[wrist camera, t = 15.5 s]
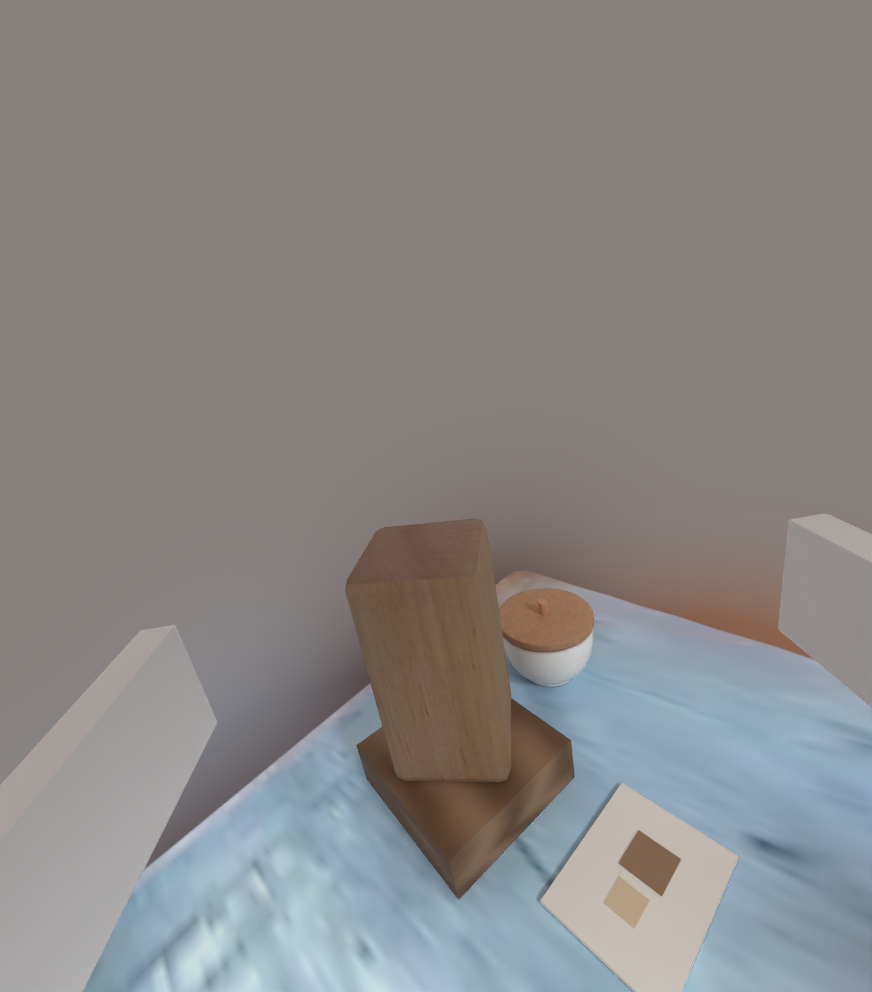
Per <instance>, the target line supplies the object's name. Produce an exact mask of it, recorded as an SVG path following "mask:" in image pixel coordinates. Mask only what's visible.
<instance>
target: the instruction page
mask: <svg viewBox="0 0 872 992" xmlns="http://www.w3.org/2000/svg"><path fill="white" fill-rule="evenodd" d="M738 859H739V856H738V855H736V854H735V853H733V852H731V851H730V850H728V849H727V848H725V847H723V846H722V845H720V844H719V843H717V842H716V841H714V840H712V839H711V838H709V837H708V836H706V835H704V834H703V833H701V832H700V831H698V830H696V829H695V828H693V827H692V826H690V825H688V824H687V823H685V822H684V821H682V820H680V819H679V818H677V817H676V816H674V815H672V814H671V813H669V812H668V811H666V810H664V809H663V808H661V807H660V806H658V805H657V804H655V803H653V802H652V801H650V800H649V799H647V798H645V797H644V796H642V795H641V794H639V793H637V792H636V791H634V790H633V789H631V788H629V787H628V786H626V785H625V784H623V783H621V785H620V786H619V788H618V789H617V790H616V792H615V793H614V795H613V796H612V798H611V799H610V801H609V802H608V803H607V805H606V806H605V808H604V809H603V811H602V812H601V814H600V815H599V816H598V818H597V819H596V821H595V822H594V824H593V825H592V827H591V828H590V829H589V831H588V832H587V834H586V835H585V837H584V838H583V840H582V841H581V842H580V844H579V845H578V847H577V848H576V850H575V851H574V853H573V854H572V855H571V857H570V858H569V860H568V861H567V863H566V864H565V866H564V867H563V868H562V870H561V871H560V873H559V874H558V876H557V877H556V879H555V880H554V881H553V883H552V884H551V886H550V887H549V889H548V890H547V892H546V893H545V894H544V896H543V897H542V899H541V900H540V903H541V904H542V905H543V906H544V907H545V908H546V909H547V910H548V911H549V912H550V913H551V914H552V915H553V916H554V917H555V918H556V919H557V920H558V921H559V922H561V923H562V924H563V925H564V926H565V927H566V928H567V929H568V930H569V931H570V932H571V933H572V934H573V935H574V936H575V937H576V938H577V939H578V940H579V941H580V942H582V943H583V944H584V945H585V946H586V947H587V948H588V949H589V950H590V951H591V952H592V953H593V954H594V955H595V956H596V957H597V958H598V959H599V960H600V961H602V962H603V963H604V964H605V965H606V966H607V967H608V968H609V969H610V970H611V971H612V972H613V973H614V974H615V975H616V976H617V977H618V978H619V979H620V980H621V981H623V982H624V983H625V984H626V985H627V986H628V987H629V988H630V989H631V990H632V991H633V992H682V990H683V988H684V986H685V983H686V981H687V979H688V976H689V974H690V972H691V969H692V967H693V965H694V962H695V960H696V958H697V955H698V953H699V951H700V948H701V946H702V944H703V941H704V939H705V937H706V934H707V932H708V930H709V927H710V925H711V923H712V920H713V918H714V916H715V913H716V911H717V908H718V906H719V904H720V901H721V899H722V897H723V894H724V892H725V890H726V887H727V885H728V883H729V880H730V878H731V876H732V873H733V871H734V869H735V866H736V864H737V862H738Z"/></svg>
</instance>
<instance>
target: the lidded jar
mask: <svg viewBox="0 0 872 992" xmlns="http://www.w3.org/2000/svg"><path fill="white" fill-rule="evenodd" d="M499 615H500V622H501V629H502V636H503V643H504V650H505V653H506V656H507V658H508V660H509V661H510V663H511V664H512V666H513V667H514V668H515V669H516V670H517V671H518V672H519V673H520V674H521V675H523V676H524V677H525V678H527V679H529V680H530V681H532V682H533V683H535V684H537V685H540V686H545V687H557V686H561V685H564V684H566V683H568V682H569V681H571V680H572V679H573V678H574V677H576V676H577V675H578V674H580V672H581V671H582V670H583V669H584V668H585V666H586V665H587V663H588V661H589V659H590V656H591V652H592V648H593V637H594V632H593V627H594V615H593V611H592V609H591V607H590V606H589V604H588V603H587V602H586V601H585V600H584V599H582V598H581V597H579V596H577V595H575V594H573V593H571V592H568V591H564V590H559V589H548V588H544V589H533V590H528V591H525V592H521V593H519V594H517V595H514V596H513V597H511V598H509V599H508V600H507V601H506V602H505V603H504V604H503V605H502V606H501V607H500V609H499Z"/></svg>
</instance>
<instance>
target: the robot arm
mask: <svg viewBox="0 0 872 992" xmlns="http://www.w3.org/2000/svg"><path fill="white" fill-rule="evenodd" d="M778 624H779V625H778V630H780V631H781V632H782V633H783V634H784V635H786V636H787V637H788V638H789V639H791V640H792V641H793V642H794V643H795V644H796V645H798V646H799V647H800V648H801V649H802V650H804V651H805V652H806V653H807V654H808V655H810V656H811V657H812V658H813V659H814V660H816V661H817V662H818V663H819V664H820V665H822V666H823V667H824V668H825V669H826V670H828V671H829V672H830V673H831V674H832V675H834V676H835V677H836V678H837V679H838V680H840V681H841V682H842V683H843V684H844V685H846V686H847V687H848V688H849V689H850V690H852V691H853V692H854V693H855V694H856V695H857V696H859V697H860V698H861V699H862V700H863V701H865V702H866V703H867V704H868V705H869V706H871V707H872V534H870V533H868V532H865V531H863V530H861V529H859V528H857V527H854V526H852V525H850V524H848V523H846V522H843V521H841V520H839V519H837V518H835V517H833V516H830V515H828V514H826V513H825V514H819V515H814V516H807V517H802V518H796V519H790V520H789V523H788V534H787V543H786V554H785V563H784V573H783V583H782V594H781V604H780V614H779V623H778ZM216 724H217V720H216V718H215V716H214V713H213V711H212V709H211V706H210V704H209V702H208V699H207V697H206V695H205V692H204V690H203V688H202V686H201V683H200V681H199V679H198V676H197V674H196V672H195V670H194V667H193V665H192V662H191V660H190V658H189V655H188V653H187V651H186V648H185V646H184V644H183V642H182V639H181V637H180V635H179V632H178V630H177V628H176V625H170V626H164V627H158V628H152V629H146V630H141V631H139V632H138V634H137V635H136V636H135V637H134V638H133V639H132V640H131V641H130V642H129V644H128V645H127V646H126V647H125V648H124V649H123V650H122V651H121V652H120V653H119V655H118V656H117V657H116V658H115V659H114V660H113V661H112V662H111V663H110V664H109V666H108V667H107V668H106V669H105V670H104V671H103V672H102V674H100V676H99V677H98V678H97V679H96V680H95V681H94V682H93V683H92V684H91V686H90V687H89V688H88V689H87V690H86V691H85V692H84V693H83V694H82V695H81V696H80V698H79V699H78V700H77V701H76V702H75V703H74V704H73V705H72V707H71V708H70V709H69V710H68V711H67V712H66V713H65V714H64V715H63V716H62V717H61V719H60V720H59V721H58V722H57V723H56V724H55V725H54V726H53V727H52V729H51V730H50V731H49V732H48V733H47V734H46V735H45V736H44V737H43V738H42V740H41V741H40V742H39V743H38V744H37V745H36V746H35V747H34V749H33V750H32V751H31V752H30V753H29V754H28V755H27V756H26V757H25V758H24V759H23V761H22V762H21V763H20V764H19V765H18V766H17V767H16V768H15V769H14V770H13V772H12V773H11V774H10V775H9V776H8V777H7V778H6V779H5V780H4V782H3V783H2V784H1V785H0V992H83V990H84V988H85V986H86V984H87V982H88V980H89V978H90V976H91V974H92V972H93V970H94V968H95V966H96V964H97V962H98V960H99V958H100V956H101V954H102V952H103V950H104V948H105V946H106V944H107V942H108V940H109V938H110V936H111V934H112V932H113V930H114V928H115V926H116V924H117V922H118V920H119V918H120V916H121V914H122V912H123V910H124V908H125V906H126V904H127V902H128V900H129V898H130V896H131V894H132V892H133V890H134V888H135V886H136V884H137V882H138V880H139V878H140V876H141V874H142V872H143V870H144V868H145V866H146V864H147V862H148V860H149V858H150V856H151V854H152V852H153V850H154V848H155V846H156V844H157V842H158V840H159V838H160V836H161V834H162V832H163V830H164V828H165V826H166V824H167V822H168V820H169V818H170V816H171V814H172V812H173V810H174V808H175V806H176V804H177V802H178V800H179V798H180V796H181V794H182V792H183V790H184V788H185V786H186V784H187V782H188V780H189V778H190V776H191V774H192V772H193V770H194V768H195V766H196V764H197V762H198V760H199V758H200V756H201V754H202V752H203V750H204V748H205V746H206V744H207V742H208V740H209V738H210V736H211V734H212V732H213V730H214V728H215V726H216Z"/></svg>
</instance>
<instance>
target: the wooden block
mask: <svg viewBox="0 0 872 992" xmlns="http://www.w3.org/2000/svg"><path fill="white" fill-rule="evenodd" d="M346 595H347V599H348V602H349V606H350V609H351V613H352V617H353V620H354V624H355V628H356V631H357V635H358V639H359V642H360V646H361V649H362V653H363V656H364V660H365V664H366V667H367V671H368V675H369V679H370V682H371V686H372V690H373V693H374V697H375V700H376V704H377V708H378V711H379V715H380V719H381V722H382V726H383V730H384V733H385V737H386V740H387V744H388V748H389V751H390V755H391V759H392V762H393V766H394V770H395V773H396V775H397V777H398V778H400V779H402V780H405V781H447V782H502V781H505V780H507V778H508V775H509V773H510V770H511V691H510V684H509V677H508V670H507V664H506V657H505V650H504V643H503V636H502V629H501V622H500V615H499V608H498V602H497V595H496V588H495V581H494V574H493V567H492V560H491V554H490V547H489V540H488V533H487V528H486V526H485V525H484V523H483V522H482V520H478V519H467V520H456V521H446V522H435V523H425V524H415V525H404V526H394V527H384V528H382V529H380V530H378V531H376V532H375V534H374V536H373V538H372V539H371V541H370V542H369V544H368V546H367V547H366V549H365V551H364V553H363V554H362V556H361V558H360V559H359V561H358V562H357V564H356V566H355V568H354V569H353V571H352V572H351V574H350V576H349V578H348V579H347V583H346Z"/></svg>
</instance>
